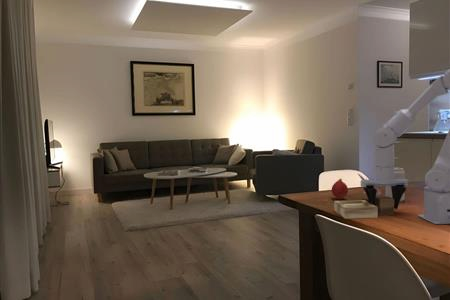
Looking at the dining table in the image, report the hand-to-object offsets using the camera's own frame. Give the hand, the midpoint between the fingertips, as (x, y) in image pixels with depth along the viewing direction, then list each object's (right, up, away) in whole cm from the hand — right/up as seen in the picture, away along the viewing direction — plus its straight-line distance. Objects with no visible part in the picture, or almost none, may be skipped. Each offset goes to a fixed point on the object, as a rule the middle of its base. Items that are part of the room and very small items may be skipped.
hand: (383, 208), depth 119 cm
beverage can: (+11, 0, +17) cm, 21 cm away
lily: (+2, 0, +16) cm, 16 cm away
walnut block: (0, -2, 0) cm, 2 cm away
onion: (-8, 0, +21) cm, 22 cm away
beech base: (-9, -2, -1) cm, 10 cm away
